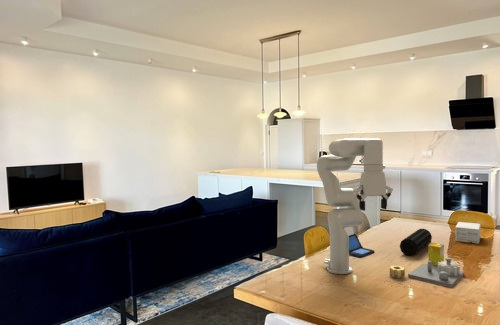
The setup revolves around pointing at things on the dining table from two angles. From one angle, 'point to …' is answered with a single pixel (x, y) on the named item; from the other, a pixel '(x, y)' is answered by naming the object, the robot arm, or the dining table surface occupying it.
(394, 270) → the brass gear
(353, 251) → the handheld game console
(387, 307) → the dining table surface
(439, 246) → the supplement box
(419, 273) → the gear board
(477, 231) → the supplement box
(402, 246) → the roller
